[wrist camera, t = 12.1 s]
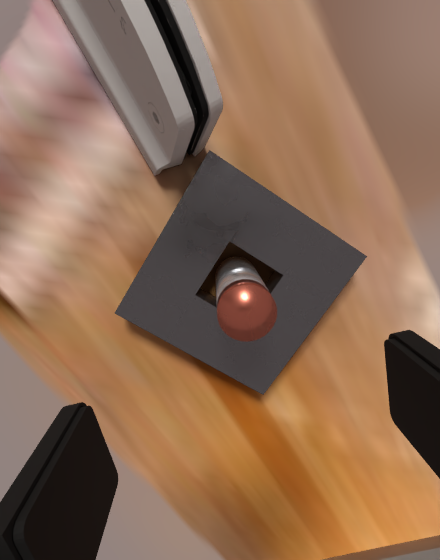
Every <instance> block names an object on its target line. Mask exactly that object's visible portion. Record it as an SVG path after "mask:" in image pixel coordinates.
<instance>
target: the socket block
mask: <svg viewBox="0 0 440 560" xmlns="http://www.w3.org/2000/svg"><path fill="white" fill-rule="evenodd" d="M229 241H230V242H231V243H233V244H235V245H236V246H238V247H239V248H241V249H243V250H244V251H246V252H247V253H249V254H251V255H252V256H254V257H255V258H257V259H259V260H260V261H262V262H263V263H265V264H266V265H268V266H270V267H271V268H273V269H274V270H275V271H274V272H273V274H272V275H271V277H270V278H269V280H268V281H267V283H266V284H265V286H266V287H267V289H268V291H269V292H270V294H271V296H272V297H273V299H274V301H275V303H276V306H277V319H276V322H275V324H274V326H273V328H272V329H271V330H270V332H268V333H267V334H266V335H265V336H263V337H262V338H260V339H257V340H254V341H246V342H245V341H238V340H235V339H233V338H231V337H229V336H228V335H227V334H226V333H225V332H224V331H223V330H222V329H221V327H220V325H219V322H218V318H217V301H216V297H215V296H213V295H212V294H210V293H208V292H206V291H205V290H203V289H201V288H200V287H201V285H202V284H203V282H204V280H205V279H206V277H207V276H208V274H209V273H210V271H211V269H212V268H213V266H214V265H215V263H216V262H217V260H218V258H219V257H220V255H221V254H222V252H223V251H224V249H225V247H226V246H227V244H228V243H229ZM366 257H367V256H366V255H364V254H363V253H361V252H360V251H358V250H357V249H355V248H354V247H352V246H351V245H349V244H348V243H346V242H345V241H343V240H342V239H340V238H339V237H337V236H336V235H334V234H333V233H332V232H330V231H329V230H327V229H326V228H324V227H323V226H321V225H320V224H318V223H317V222H315V221H314V220H312V219H311V218H309V217H308V216H306V215H305V214H303V213H302V212H300V211H299V210H297V209H296V208H294V207H293V206H291V205H290V204H289V203H287V202H286V201H284V200H283V199H281V198H280V197H278V196H277V195H275V194H274V193H272V192H271V191H269V190H268V189H266V188H265V187H263V186H262V185H260V184H259V183H257V182H256V181H254V180H253V179H251V178H250V177H249V176H247V175H246V174H244V173H243V172H241V171H240V170H238V169H237V168H235V167H234V166H232V165H231V164H229V163H228V162H226V161H225V160H223V159H222V158H220V157H219V156H217V155H216V154H214V153H213V152H211V151H210V150H209V152H208V154H207V155H206V157H205V159H204V160H203V162H202V164H201V166H200V167H199V169H198V171H197V172H196V174H195V176H194V178H193V179H192V181H191V183H190V184H189V186H188V188H187V190H186V191H185V193H184V195H183V197H182V198H181V200H180V202H179V203H178V205H177V207H176V209H175V210H174V212H173V214H172V215H171V217H170V219H169V221H168V222H167V224H166V226H165V227H164V229H163V231H162V233H161V234H160V236H159V238H158V239H157V241H156V243H155V245H154V246H153V248H152V250H151V251H150V253H149V255H148V257H147V258H146V260H145V262H144V264H143V265H142V267H141V269H140V270H139V272H138V274H137V276H136V277H135V279H134V281H133V282H132V284H131V286H130V288H129V289H128V291H127V293H126V294H125V296H124V298H123V300H122V301H121V303H120V305H119V306H118V308H117V310H116V312H115V314H117V315H119V316H121V317H122V318H124V319H126V320H128V321H130V322H132V323H133V324H135V325H137V326H139V327H141V328H142V329H144V330H146V331H148V332H150V333H152V334H153V335H155V336H157V337H159V338H161V339H162V340H164V341H166V342H168V343H170V344H172V345H173V346H175V347H177V348H179V349H181V350H182V351H184V352H186V353H188V354H190V355H192V356H193V357H195V358H197V359H199V360H201V361H203V362H204V363H206V364H208V365H210V366H212V367H213V368H215V369H217V370H219V371H221V372H223V373H224V374H226V375H228V376H230V377H232V378H233V379H235V380H237V381H239V382H241V383H243V384H244V385H246V386H248V387H250V388H252V389H253V390H255V391H257V392H259V393H261V394H264V393H265V392H266V390H267V389H268V388H269V386H270V385H271V384H272V382H273V381H274V380H275V378H276V377H277V376H278V374H279V373H280V372H281V370H282V369H283V368H284V366H285V365H286V364H287V362H288V361H289V360H290V358H291V357H292V356H293V354H294V353H295V352H296V350H297V349H298V348H299V346H300V345H301V344H302V342H303V341H304V340H305V338H306V337H307V336H308V334H309V333H310V332H311V330H312V329H313V328H314V326H315V325H316V324H317V322H318V321H319V320H320V318H321V317H322V316H323V314H324V313H325V312H326V310H327V309H328V308H329V306H330V305H331V304H332V302H333V301H334V300H335V298H336V297H337V296H338V294H339V293H340V292H341V290H342V289H343V288H344V286H345V285H346V284H347V282H348V281H349V280H350V278H351V277H352V276H353V274H354V273H355V272H356V270H357V269H358V268H359V266H360V265H361V264H362V262H363V261H364V260H365V258H366Z"/></svg>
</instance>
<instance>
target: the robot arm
mask: <svg viewBox="0 0 440 560" xmlns="http://www.w3.org/2000/svg"><path fill="white" fill-rule="evenodd" d="M384 347H385V359H386V371H387V382H388V394H389V406H390V414H391V417H392V419H393V421H394V423H395V425H396V426H397V427H398V428H399V430H400V431H401V432H402V433H403V434H404V436H405V437H406V438H407V439H408V441H409V442H410V443H411V444H412V445H413V447H414V448H415V449H416V450H417V452H418V453H419V454H420V455H421V456H422V458H423V459H424V460H425V461H426V463H427V464H428V465H429V466H430V467H431V469H432V470H433V471H434V472H435V473H436V475H437V476H438V477H439V478H440V349H438V348H437V347H435V346H434V345H432V344H431V343H429V342H428V341H426V340H425V339H423V338H422V337H421V336H419V335H418V334H416V333H415V332H413V331H411V330H406V331H402V332H397V333H393V334H390V335H389V339H388V340H385V342H384ZM117 484H118V473H117V470H116V467H115V465H114V462H113V460H112V457H111V455H110V452H109V449H108V447H107V444H106V442H105V439H104V437H103V434H102V432H101V429H100V426H99V424H98V421H97V419H96V416H95V414H94V411H93V409H92V407H91V406H86V404H85V403H83V402H82V403H77V404H73V405H68V406H65V407H63V408H62V409H61V411H60V412H59V414H58V415H57V417H56V418H55V420H54V421H53V423H52V424H51V426H50V427H49V429H48V431H47V432H46V434H45V435H44V437H43V438H42V440H41V441H40V443H39V444H38V446H37V447H36V449H35V450H34V452H33V453H32V455H31V456H30V458H29V459H28V461H27V462H26V464H25V465H24V467H23V468H22V470H21V472H20V473H19V475H18V476H17V478H16V479H15V481H14V482H13V484H12V485H11V487H10V489H9V490H8V491H7V493H6V494H5V496H4V498H3V499H2V501H1V502H0V560H95V559H96V556H97V552H98V549H99V546H100V542H101V539H102V536H103V532H104V529H105V525H106V522H107V519H108V515H109V512H110V509H111V505H112V502H113V498H114V495H115V492H116V488H117ZM322 560H440V535H439V536H434V537H429V538H424V539H419V540H414V541H409V542H405V543H400V544H395V545H390V546H385V547H380V548H375V549H371V550H366V551H361V552H356V553H351V554H346V555H342V556H337V557H332V558H327V559H322Z"/></svg>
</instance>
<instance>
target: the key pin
mask: <svg viewBox="0 0 440 560" xmlns="http://www.w3.org/2000/svg"><path fill="white" fill-rule="evenodd" d="M215 279H216V301H217V318H218V322H219V325H220V327H221V329H222V330H223V331H224V332H225V333H226V334H227V335H228V336H229V337H231V338H233V339H235V340H238V341H245V342H246V341H254V340H257V339H260V338H262V337H263V336H265V335H266V334H267V333H268V332H270V330H271V329H272V328H273V326H274V324H275V322H276V319H277V306H276V303H275V301H274V299H273V297H272V296H271V294H270V292H269V291H268V289H267V287H266V286H265V284H264V282H263V281H262V279H261V277H260V276H259V274H258V272H257V271H256V269H255V267H254V266H253V264H252V263H251V262H250V261H249V260H247V259H245V258H243V257H238V256H235V257H230V258H227V259H225V260H224V261H223V262H222V263H221V264H220V265H219V266H218V268H217V270H216V275H215Z"/></svg>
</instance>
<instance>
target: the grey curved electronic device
mask: <svg viewBox="0 0 440 560" xmlns="http://www.w3.org/2000/svg"><path fill="white" fill-rule="evenodd" d="M52 1H53V2H54V4H55V6H56V8H57V9H58V11H59V13H60V14H61V16H62V18H63V20H64V21H65V23H66V25H67V26H68V28H69V30H70V32H71V33H72V35H73V37H74V38H75V40H76V42H77V44H78V45H79V47H80V49H81V50H82V52H83V54H84V56H85V57H86V59H87V61H88V62H89V64H90V66H91V68H92V69H93V71H94V73H95V74H96V76H97V78H98V80H99V81H100V83H101V85H102V86H103V88H104V90H105V92H106V93H107V95H108V97H109V98H110V100H111V102H112V104H113V105H114V107H115V109H116V110H117V112H118V114H119V116H120V117H121V119H122V121H123V122H124V124H125V126H126V128H127V129H128V131H129V133H130V134H131V136H132V138H133V140H134V141H135V143H136V145H137V146H138V148H139V150H140V152H141V153H142V155H143V157H144V158H145V160H146V162H147V164H148V165H149V167H150V169H151V170H152V172H153V174H154V176H155V175H157V174H160V172H161V171H162V170H163V169H166V168H170V167H173V166H176V165H180V164H182V161H183V159H184V158H185V155H186V152H188V154H189V155H190V154H193V155H194V157H195V156H196V155H197V154H198V153H200V152H201V151H202V150H203V149H204V147H205V145H206V143H207V141H208V139H209V137H210V135H211V133H212V131H213V129H214V126H215V124H216V122H217V120H218V118H219V116H220V114H221V112H222V109H223V101H222V96H221V93H220V90H219V87H218V84H217V80H216V77H215V74H214V71H213V68H212V66H211V63H210V60H209V57H208V54H207V51H206V49H205V46H204V44H203V41H202V39H201V36H200V33H199V31H198V28H197V26H196V23H195V21H194V18H193V16H192V13H191V11H190V9H189V7H188V4H187V2H186V0H52Z"/></svg>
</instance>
